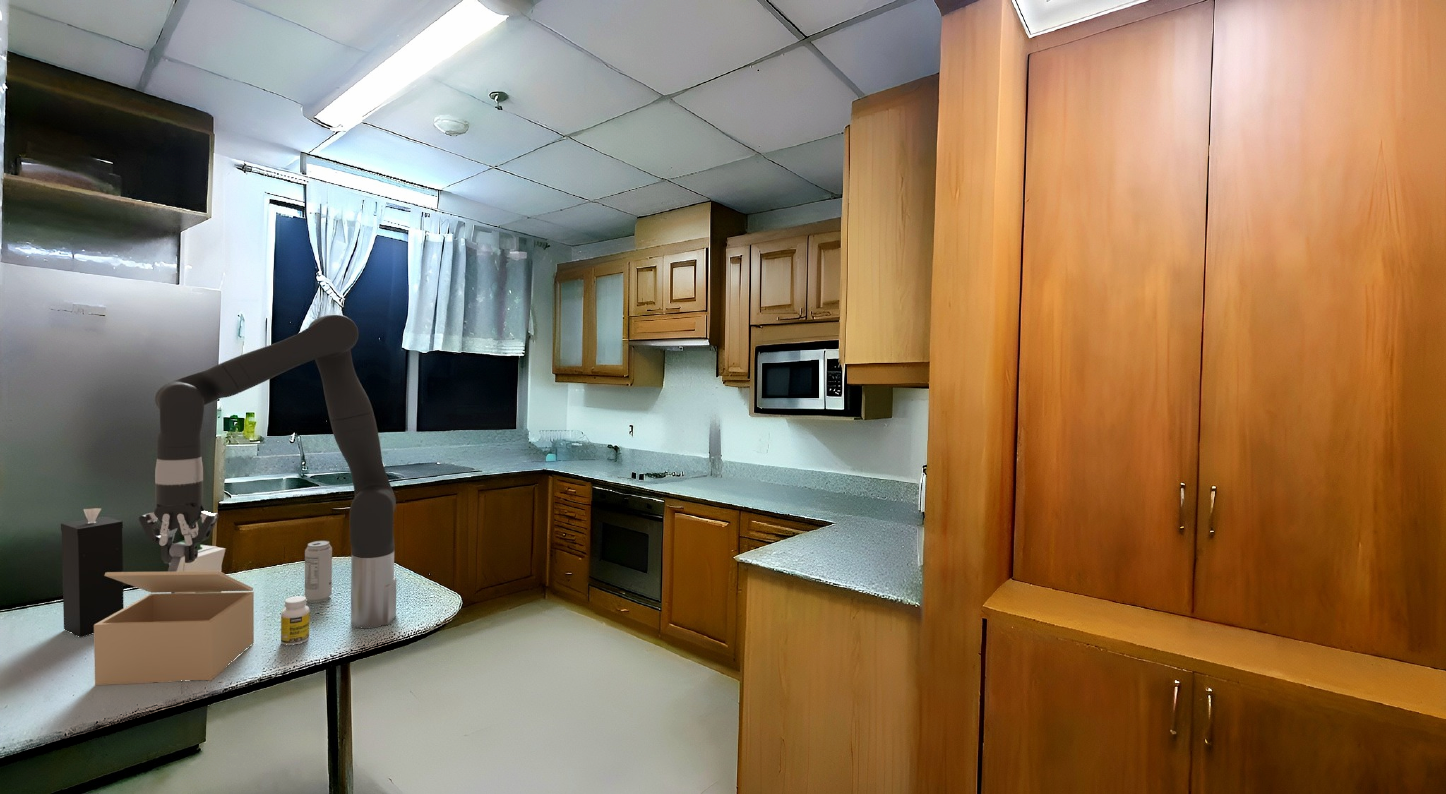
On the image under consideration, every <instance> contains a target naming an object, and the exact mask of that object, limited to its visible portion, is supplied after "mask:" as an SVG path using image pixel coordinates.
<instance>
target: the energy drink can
mask: <svg viewBox="0 0 1446 794" xmlns="http://www.w3.org/2000/svg"><path fill="white" fill-rule="evenodd" d="M332 564H333V547H332V546H331V544H330V541H329V540H314V541H312V542H309V543H307V547H306V548H305V549H304V597H306V602H308V603H310V604H312V603H315V604H317V603H322V602H325V601H327V600H329V599H330V597H331V596H332V594H333V593H332V592H333V591H332V588H333V585H332V583H333V582H332V581H333V577H332V576H333V565H332Z"/></svg>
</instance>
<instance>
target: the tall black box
mask: <svg viewBox="0 0 1446 794" xmlns="http://www.w3.org/2000/svg"><path fill="white" fill-rule="evenodd" d="M82 510H83V513H84V515H85V517H86V519H80V520H79V519H78V520H75V521H73V520H72V521H68V522H61V523H60V531H61V556H62V559H61V561H62V563H61V564H62V602H63V603H62V604H63V605H62V608H63V630H64V629H65V630H67V631H69V632H72V633H73V634H74V636H76V635H77V636H76V637H78V636H79V637H78V638H83V636H84V637H87V636H90V635H89V634H91V635H93V634H92V633H94V625H95V624H96V623H98V622H100V621H102V620H104V619H105V618H107V617H109V616H111V615H113V614H114V613H116V612H118V611H120V610H122V609H124V608H125V607H124V583H123V582H121V581H118V580H115V579H112V578H109V577H107V576H104V575H105V573H107V572H124V559H123V558H124V555H123V554H124V552H123V551H124V550H123V547H124V546H123V528H124V527H123V526H124V525H123V521H122V520H120V519H116V518H113V517H109V516H99V514H100V513H101V511H102V507H101V508H98V507H97V508H95V507H94V508H83V509H82ZM98 516H99V517H98ZM65 630H64V631H65ZM67 631H66V632H67ZM69 632H68V633H69ZM73 634H72V635H73ZM86 635H87V636H86Z"/></svg>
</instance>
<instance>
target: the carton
mask: <svg viewBox="0 0 1446 794" xmlns="http://www.w3.org/2000/svg"><path fill="white" fill-rule="evenodd" d="M254 595H255V594H254V591H221V592H213V593H171V592H162V593H149V594H147V595H145V596H143V597H142V598H139V599H138V600H136V601H135V602H133V603H131V604H129V605H127V606H125V607H124V609H122V610H120V611H118V612H116V613H114V614H113V615H111V616H109V617H107V618H105V619H104V620H102V621H100V622H98V623H96V624H95V625H94V634H93V644H94V645H93V647H94V650H93V654H94V685H95V686H100V685H101V686H102V685H103V686H104V685H127V684H152V683H153V682H158V683H174V682H173V681H181V680H182V681H183V682H186V681H185V680H208V681H212V680H214V679H215V678H216V677H217V676H218V675H220V674H221V673H222V672H223V671H224V670H225V669H227V667H226V666H228V664H229V663H231V661H233V660H234V659H235V658H236V657H237V656H238V655H239V654H241V653H242V652H243V651H244V650H245V649H246V648H248V647H249V646H250V645H251V644H253V643H254V642H255V640H254V635H255V634H254V633H255V630H254V628H255V627H254V625H255V623H254V621H255V617H254V615H255V611H254V610H255V609H254V601H255V600H254V599H255V598H254V597H255V596H254ZM254 644H255V643H254ZM254 644H253V645H254ZM233 662H234V661H233ZM231 664H232V663H231ZM228 667H229V666H228ZM224 668H225V669H224ZM223 669H224V670H223ZM221 671H222V672H221ZM220 672H221V673H220ZM213 678H214V679H213ZM169 681H171V682H169Z"/></svg>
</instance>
